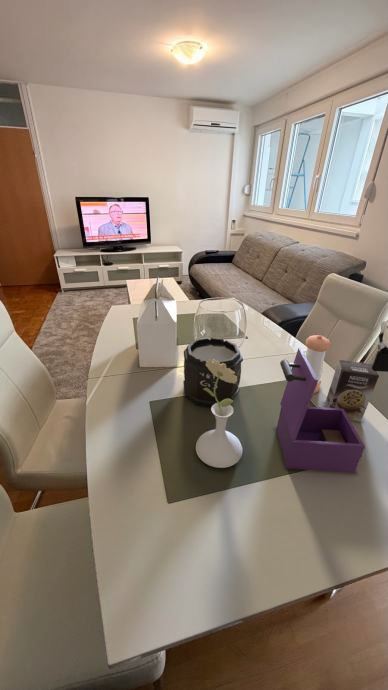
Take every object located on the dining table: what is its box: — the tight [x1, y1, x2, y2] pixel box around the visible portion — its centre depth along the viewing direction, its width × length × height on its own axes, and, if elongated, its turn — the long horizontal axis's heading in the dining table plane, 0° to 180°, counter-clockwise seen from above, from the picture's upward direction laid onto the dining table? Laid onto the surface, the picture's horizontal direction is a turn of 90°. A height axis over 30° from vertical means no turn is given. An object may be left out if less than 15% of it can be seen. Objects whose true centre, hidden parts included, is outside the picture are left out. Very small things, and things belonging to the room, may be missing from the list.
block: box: [318, 429, 346, 443], centre depth 73 cm, size 4×4×4 cm
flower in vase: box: [195, 359, 243, 469], centre depth 68 cm, size 13×11×25 cm
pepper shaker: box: [305, 334, 331, 394], centre depth 94 cm, size 7×7×19 cm
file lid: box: [279, 347, 318, 441], centre depth 67 cm, size 16×13×5 cm
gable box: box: [136, 276, 178, 368], centre depth 110 cm, size 22×13×28 cm, turn 3°
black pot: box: [183, 337, 244, 408], centre depth 92 cm, size 18×18×16 cm
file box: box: [276, 406, 366, 474], centre depth 73 cm, size 16×13×9 cm
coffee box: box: [324, 359, 380, 423], centre depth 84 cm, size 9×6×16 cm
